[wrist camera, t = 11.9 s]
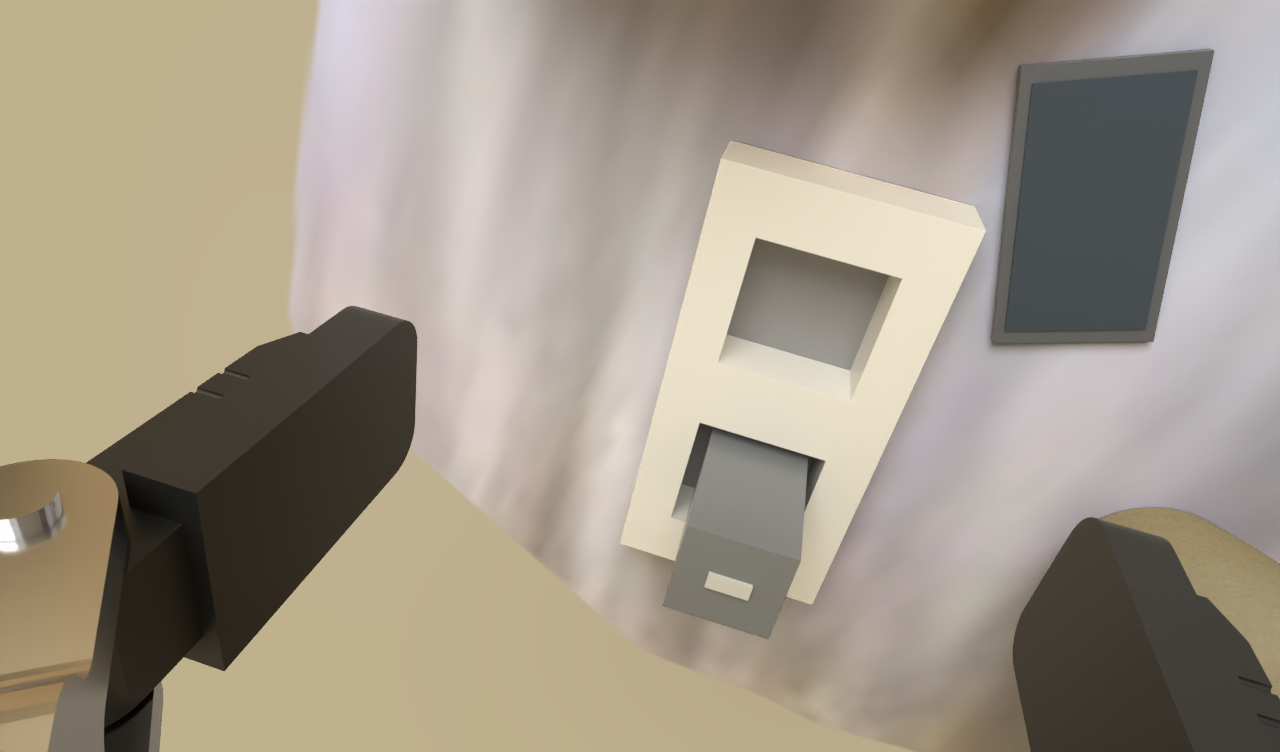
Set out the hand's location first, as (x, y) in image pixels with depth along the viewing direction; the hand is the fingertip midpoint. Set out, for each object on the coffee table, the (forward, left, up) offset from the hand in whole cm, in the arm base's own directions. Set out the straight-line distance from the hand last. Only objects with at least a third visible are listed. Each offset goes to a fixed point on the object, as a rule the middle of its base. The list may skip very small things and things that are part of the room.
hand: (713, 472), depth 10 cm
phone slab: (-12, +1, -26) cm, 28 cm away
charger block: (-3, +17, -25) cm, 30 cm away
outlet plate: (-3, +12, -25) cm, 28 cm away
